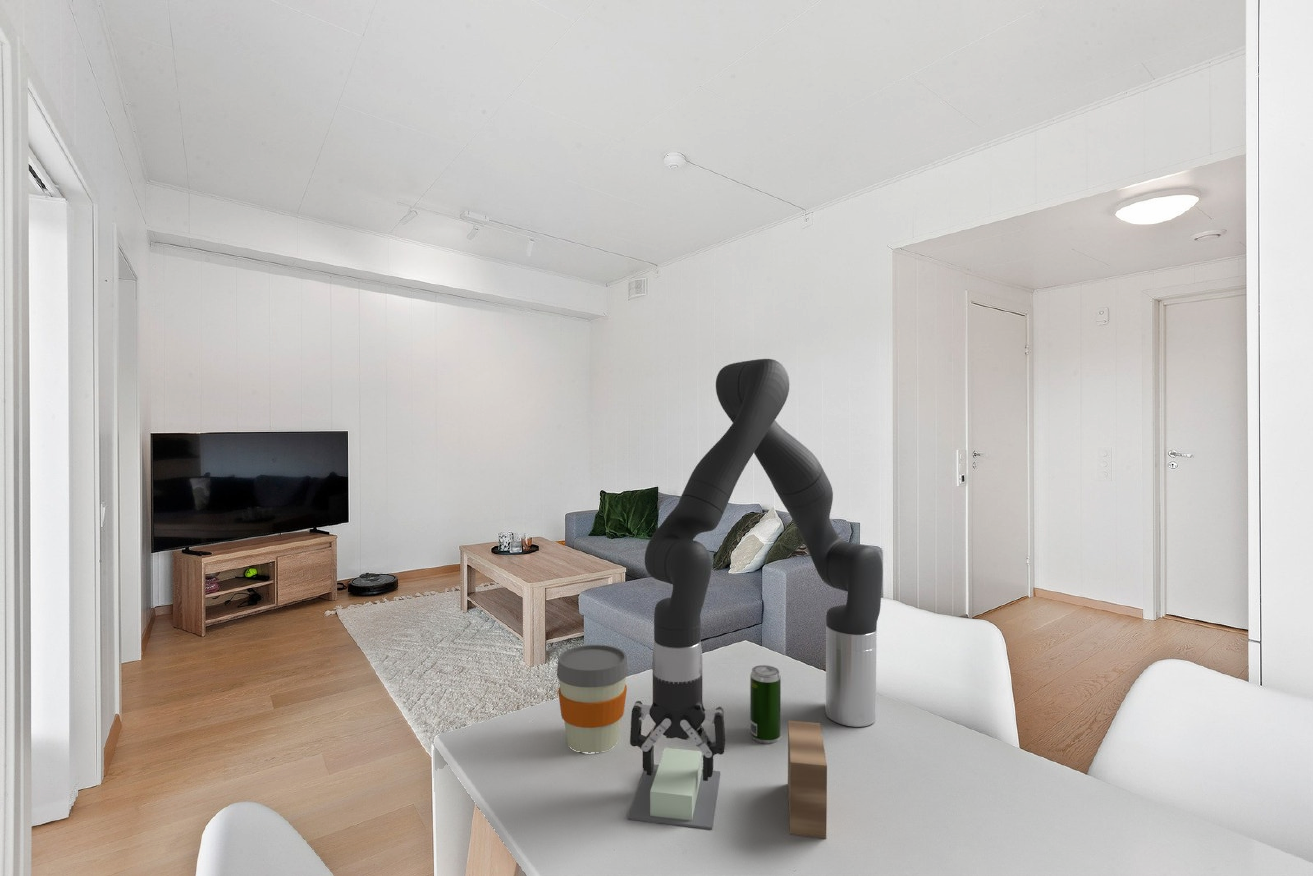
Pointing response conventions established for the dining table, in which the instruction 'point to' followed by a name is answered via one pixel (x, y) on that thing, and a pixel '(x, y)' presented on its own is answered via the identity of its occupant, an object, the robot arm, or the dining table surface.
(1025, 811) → the dining table surface
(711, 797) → the mat
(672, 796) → the pale green block
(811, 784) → the box
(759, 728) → the beer can
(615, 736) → the reusable coffee cup
